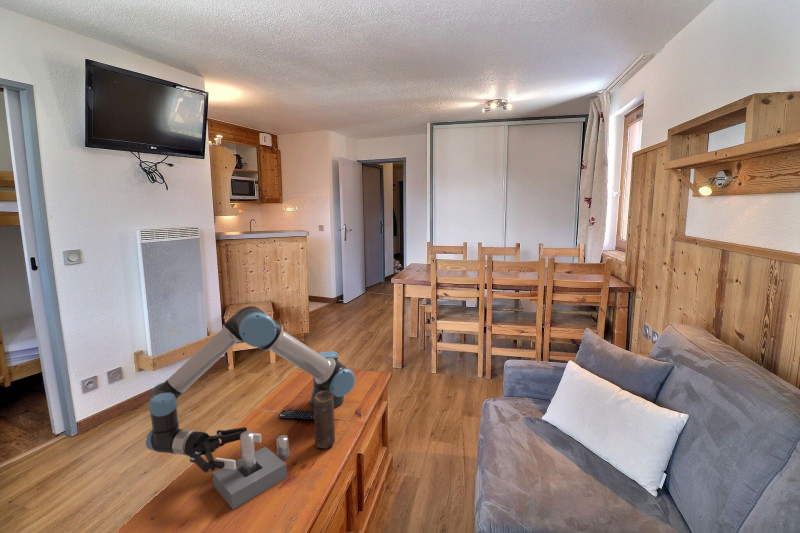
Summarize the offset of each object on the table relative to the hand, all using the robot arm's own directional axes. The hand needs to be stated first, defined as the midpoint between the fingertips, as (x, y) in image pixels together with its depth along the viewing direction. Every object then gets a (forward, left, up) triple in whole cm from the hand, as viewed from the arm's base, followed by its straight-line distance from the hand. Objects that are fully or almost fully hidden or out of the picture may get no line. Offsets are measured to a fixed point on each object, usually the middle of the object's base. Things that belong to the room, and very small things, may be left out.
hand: (248, 450), depth 122 cm
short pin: (-14, -4, -11) cm, 19 cm away
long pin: (0, 0, -11) cm, 11 cm away
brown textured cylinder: (-28, +2, -12) cm, 30 cm away
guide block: (0, 0, -11) cm, 11 cm away
